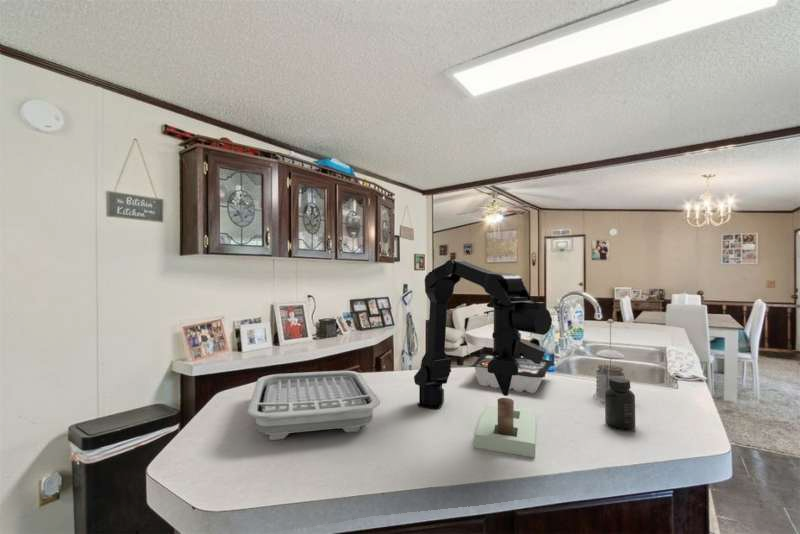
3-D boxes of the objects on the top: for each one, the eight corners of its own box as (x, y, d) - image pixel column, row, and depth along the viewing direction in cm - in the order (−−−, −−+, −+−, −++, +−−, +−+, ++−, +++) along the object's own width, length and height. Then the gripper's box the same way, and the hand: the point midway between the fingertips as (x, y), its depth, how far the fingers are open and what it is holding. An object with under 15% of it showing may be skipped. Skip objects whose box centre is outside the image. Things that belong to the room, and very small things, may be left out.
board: (535, 457, 82) (535, 443, 82) (474, 447, 86) (474, 434, 86) (535, 422, 100) (535, 411, 100) (485, 415, 105) (486, 404, 105)
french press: (630, 398, 120) (631, 319, 120) (623, 408, 111) (624, 322, 111) (596, 391, 126) (597, 316, 127) (587, 400, 118) (587, 319, 118)
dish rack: (358, 390, 127) (358, 366, 127) (384, 438, 91) (385, 405, 91) (257, 398, 118) (258, 373, 118) (244, 455, 82) (244, 418, 82)
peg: (496, 445, 87) (496, 402, 87) (497, 438, 91) (498, 396, 91) (513, 448, 86) (513, 404, 86) (514, 441, 89) (514, 398, 89)
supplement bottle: (631, 422, 101) (631, 377, 101) (638, 433, 94) (638, 385, 94) (602, 419, 103) (602, 375, 103) (607, 429, 96) (607, 382, 97)
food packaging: (468, 364, 131) (485, 352, 152) (467, 386, 131) (485, 371, 152) (544, 374, 120) (552, 359, 140) (544, 398, 120) (552, 380, 140)
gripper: (543, 337, 77) (543, 414, 77) (542, 324, 94) (542, 387, 94) (487, 333, 81) (487, 407, 81) (496, 322, 98) (496, 382, 98)
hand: (505, 395), depth 88 cm, fingers closed
